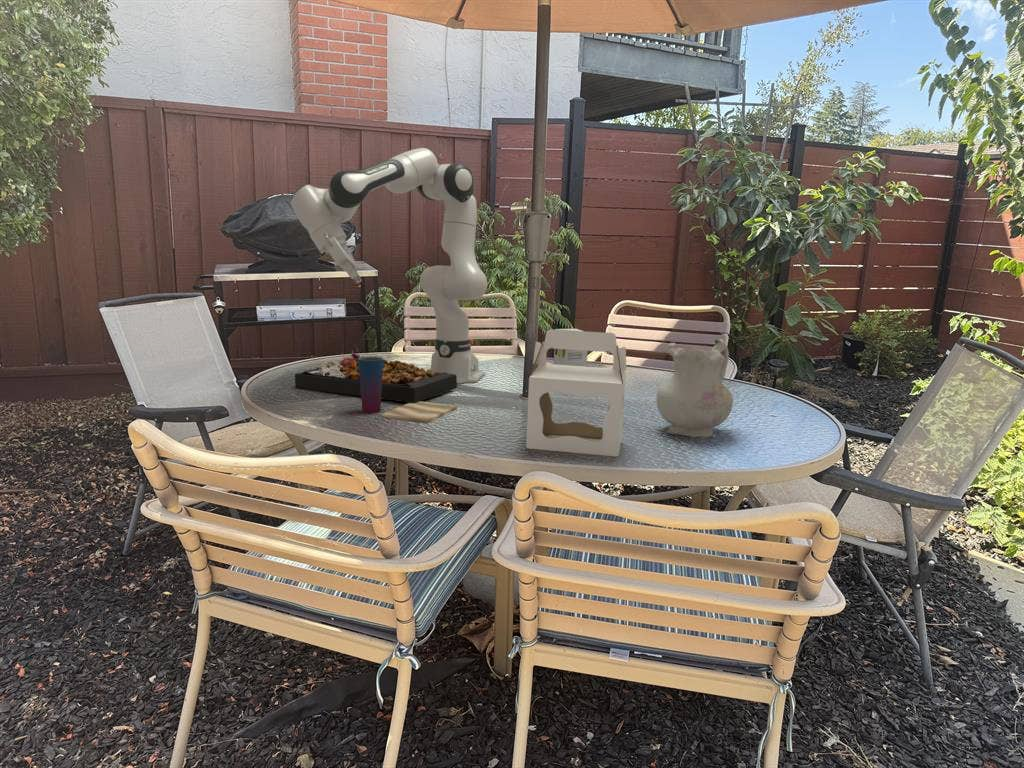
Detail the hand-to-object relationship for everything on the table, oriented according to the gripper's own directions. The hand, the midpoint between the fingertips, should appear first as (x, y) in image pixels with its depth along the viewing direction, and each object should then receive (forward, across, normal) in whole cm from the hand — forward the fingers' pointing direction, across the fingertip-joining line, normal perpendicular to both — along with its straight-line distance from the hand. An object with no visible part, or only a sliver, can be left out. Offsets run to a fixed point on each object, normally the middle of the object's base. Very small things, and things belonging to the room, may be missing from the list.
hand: (357, 279), depth 200 cm
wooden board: (+42, -6, +5) cm, 43 cm away
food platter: (+28, +23, +15) cm, 39 cm away
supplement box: (+61, +52, -43) cm, 91 cm away
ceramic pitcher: (+86, -22, -54) cm, 103 cm away
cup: (+34, -5, +17) cm, 38 cm away
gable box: (+69, -35, -24) cm, 81 cm away
